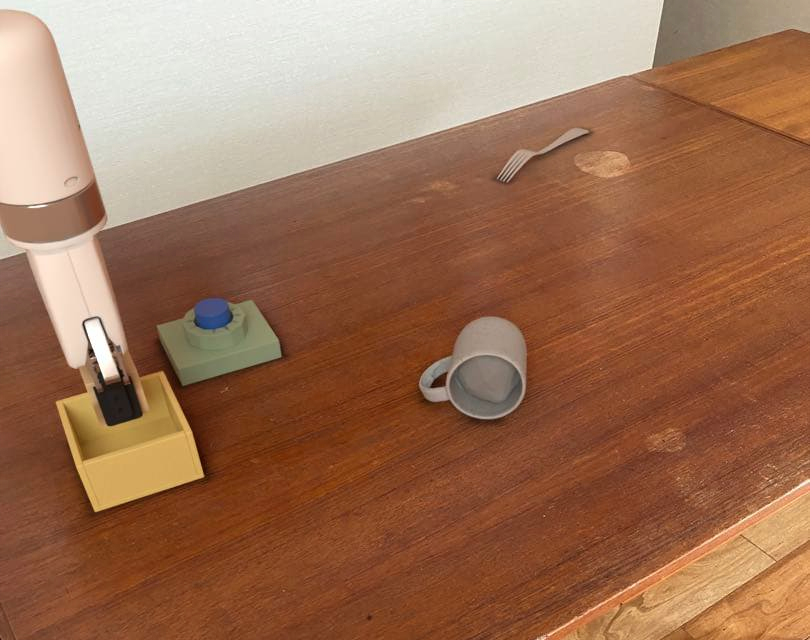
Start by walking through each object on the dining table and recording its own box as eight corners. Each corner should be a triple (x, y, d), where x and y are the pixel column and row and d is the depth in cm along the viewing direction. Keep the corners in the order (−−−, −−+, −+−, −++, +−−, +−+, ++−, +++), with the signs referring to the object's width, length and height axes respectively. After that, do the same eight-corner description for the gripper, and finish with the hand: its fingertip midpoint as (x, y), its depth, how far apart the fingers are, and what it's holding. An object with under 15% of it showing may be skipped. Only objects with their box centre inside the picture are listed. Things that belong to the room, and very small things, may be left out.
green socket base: (182, 386, 90) (173, 354, 87) (160, 342, 96) (152, 310, 93) (282, 357, 93) (276, 325, 90) (255, 316, 99) (249, 285, 96)
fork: (589, 149, 132) (592, 130, 130) (510, 183, 119) (512, 162, 118) (573, 144, 133) (576, 125, 131) (493, 178, 121) (495, 157, 119)
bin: (95, 512, 78) (76, 467, 74) (73, 446, 84) (55, 401, 80) (204, 477, 81) (192, 431, 76) (175, 415, 87) (163, 370, 83)
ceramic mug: (525, 372, 90) (529, 307, 84) (523, 422, 84) (528, 356, 79) (423, 369, 91) (421, 304, 86) (415, 418, 86) (412, 353, 80)
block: (100, 426, 75) (85, 385, 72) (90, 398, 78) (75, 358, 75) (150, 411, 77) (137, 370, 73) (138, 384, 79) (125, 344, 76)
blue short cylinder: (202, 334, 90) (199, 319, 89) (193, 317, 92) (189, 302, 91) (235, 325, 91) (232, 310, 90) (225, 308, 93) (222, 294, 92)
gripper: (-17, 174, 68) (59, 366, 82) (14, 271, 58) (95, 474, 71) (79, 153, 70) (137, 344, 84) (126, 244, 60) (184, 446, 73)
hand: (117, 402), depth 77 cm, fingers closed on block, 4 cm apart
